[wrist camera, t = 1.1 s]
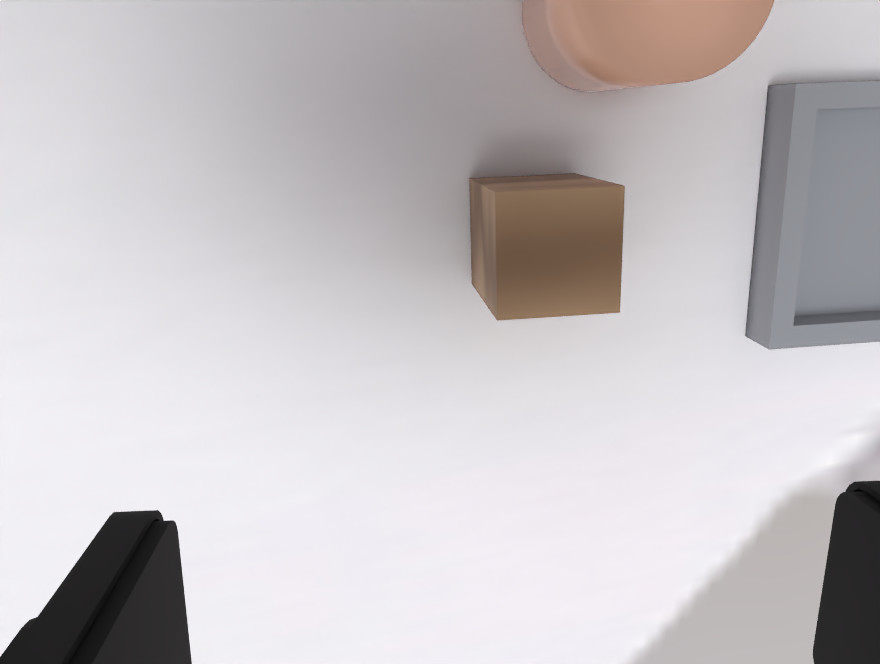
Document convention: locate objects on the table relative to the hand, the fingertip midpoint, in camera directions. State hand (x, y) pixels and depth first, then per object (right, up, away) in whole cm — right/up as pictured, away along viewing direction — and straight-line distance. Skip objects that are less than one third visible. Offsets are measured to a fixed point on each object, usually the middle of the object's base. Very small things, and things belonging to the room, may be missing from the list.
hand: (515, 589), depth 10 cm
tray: (+18, +9, +22) cm, 30 cm away
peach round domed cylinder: (+5, +16, +19) cm, 25 cm away
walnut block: (+3, +8, +21) cm, 22 cm away
